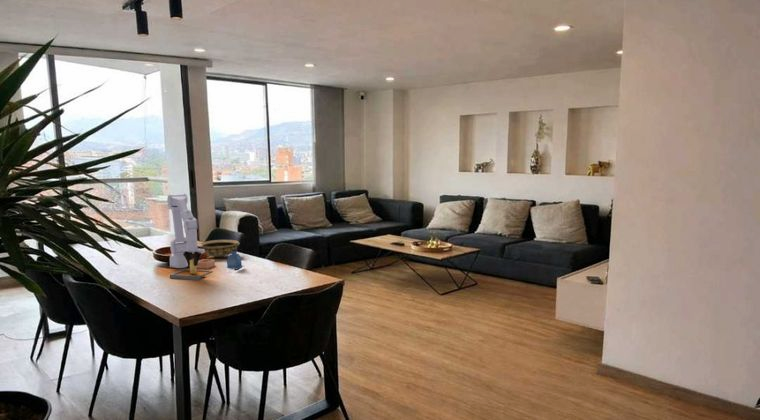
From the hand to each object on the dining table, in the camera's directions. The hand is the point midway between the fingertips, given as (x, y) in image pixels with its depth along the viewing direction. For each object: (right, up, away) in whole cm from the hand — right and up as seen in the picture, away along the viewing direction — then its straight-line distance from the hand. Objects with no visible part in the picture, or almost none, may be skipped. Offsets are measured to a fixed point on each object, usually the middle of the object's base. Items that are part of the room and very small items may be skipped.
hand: (192, 265), depth 273 cm
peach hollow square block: (+1, -4, +17) cm, 17 cm away
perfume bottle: (+18, -4, +18) cm, 26 cm away
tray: (-1, -6, +1) cm, 6 cm away
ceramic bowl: (-1, -1, +47) cm, 47 cm away
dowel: (0, -4, +1) cm, 4 cm away
